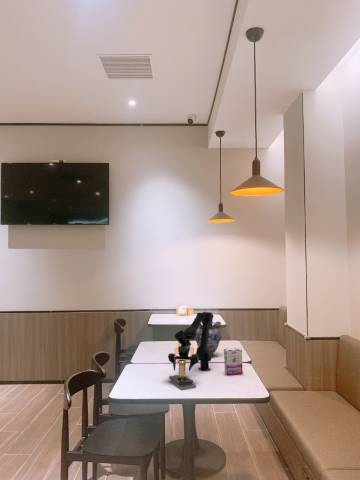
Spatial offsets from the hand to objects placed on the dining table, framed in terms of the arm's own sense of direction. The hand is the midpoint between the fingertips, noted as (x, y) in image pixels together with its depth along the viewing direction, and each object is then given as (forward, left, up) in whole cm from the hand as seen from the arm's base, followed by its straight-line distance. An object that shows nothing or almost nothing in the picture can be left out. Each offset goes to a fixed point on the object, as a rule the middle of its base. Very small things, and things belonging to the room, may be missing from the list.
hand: (181, 370), depth 218 cm
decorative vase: (-52, +48, -9) cm, 71 cm away
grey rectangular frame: (-1, +1, -9) cm, 9 cm away
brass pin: (-1, +1, -9) cm, 9 cm away
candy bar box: (-4, +40, -9) cm, 41 cm away
